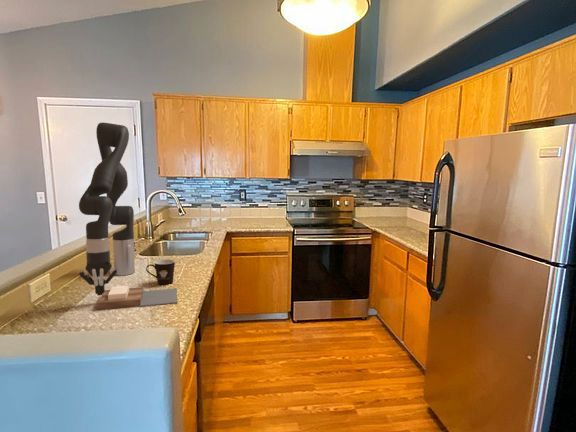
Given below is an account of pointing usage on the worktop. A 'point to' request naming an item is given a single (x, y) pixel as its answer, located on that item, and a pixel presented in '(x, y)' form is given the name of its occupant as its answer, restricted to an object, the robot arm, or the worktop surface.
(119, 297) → the cream rectangular block
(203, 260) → the worktop surface
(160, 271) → the coffee mug
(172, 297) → the mat
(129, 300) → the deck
